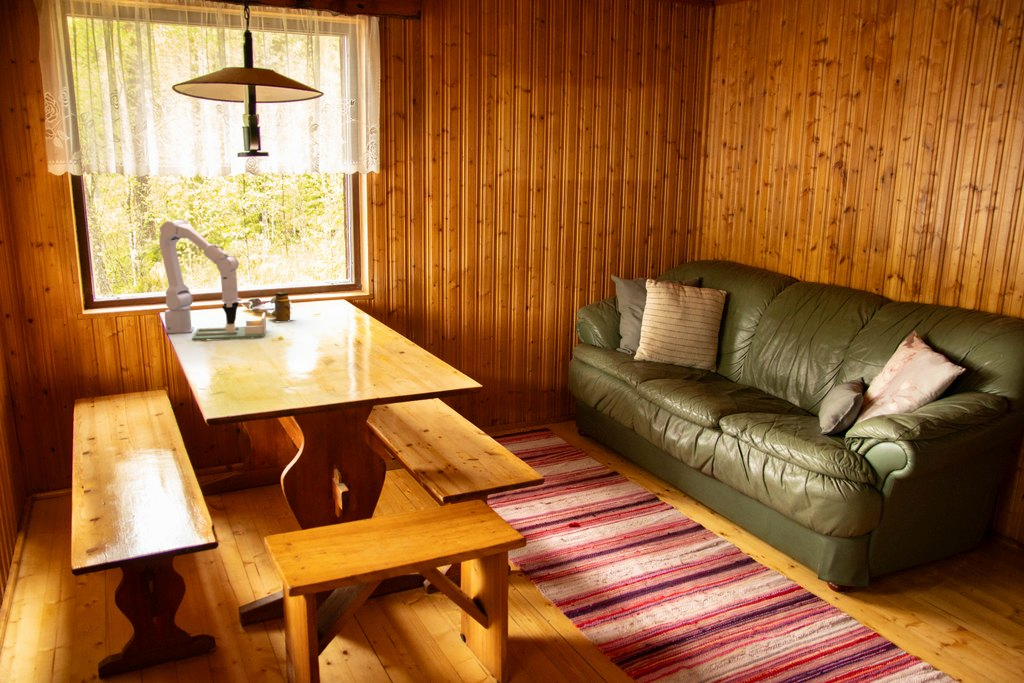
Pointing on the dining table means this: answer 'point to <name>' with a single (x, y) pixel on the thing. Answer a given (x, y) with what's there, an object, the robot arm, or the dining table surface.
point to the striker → (230, 326)
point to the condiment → (281, 307)
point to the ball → (255, 323)
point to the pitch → (222, 333)
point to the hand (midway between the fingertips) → (231, 322)
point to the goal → (256, 329)
